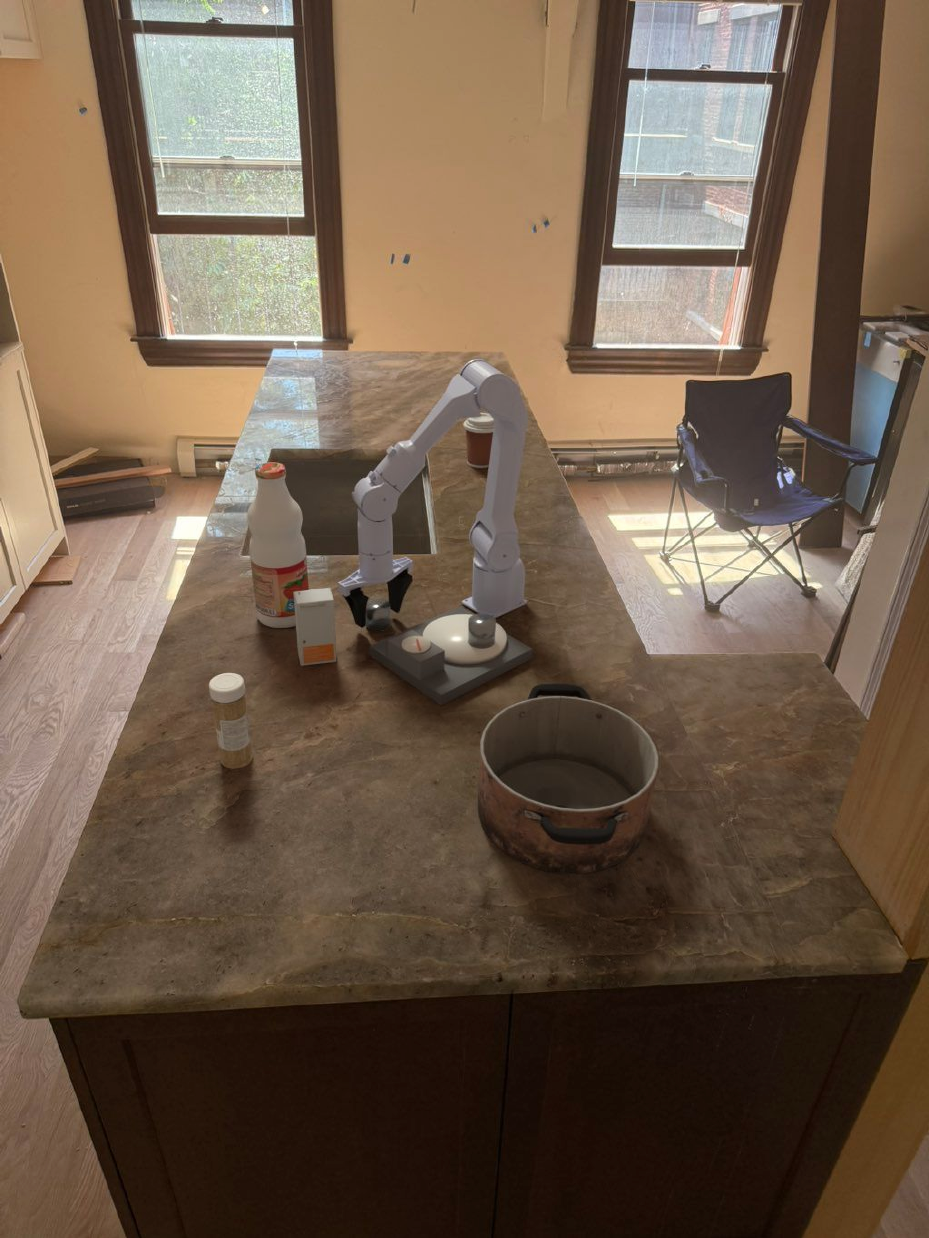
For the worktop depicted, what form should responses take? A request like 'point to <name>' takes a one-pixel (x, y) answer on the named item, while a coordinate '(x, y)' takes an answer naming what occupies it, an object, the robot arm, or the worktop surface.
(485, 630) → the cylinder
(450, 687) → the kitchen scale
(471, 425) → the coffee cup
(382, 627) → the cylinder
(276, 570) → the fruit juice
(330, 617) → the skincare box
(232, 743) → the sprinkles bottle
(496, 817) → the cooking pot
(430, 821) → the worktop surface
